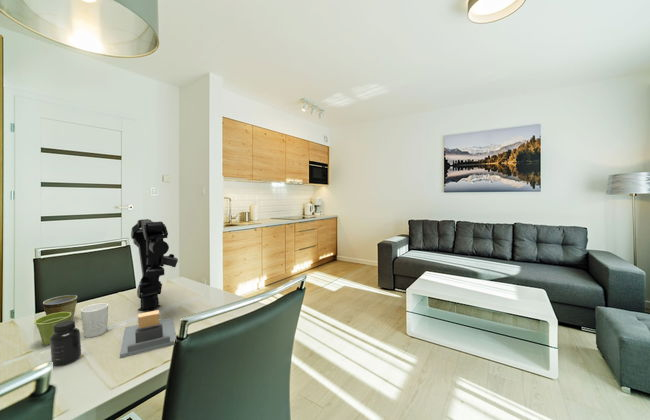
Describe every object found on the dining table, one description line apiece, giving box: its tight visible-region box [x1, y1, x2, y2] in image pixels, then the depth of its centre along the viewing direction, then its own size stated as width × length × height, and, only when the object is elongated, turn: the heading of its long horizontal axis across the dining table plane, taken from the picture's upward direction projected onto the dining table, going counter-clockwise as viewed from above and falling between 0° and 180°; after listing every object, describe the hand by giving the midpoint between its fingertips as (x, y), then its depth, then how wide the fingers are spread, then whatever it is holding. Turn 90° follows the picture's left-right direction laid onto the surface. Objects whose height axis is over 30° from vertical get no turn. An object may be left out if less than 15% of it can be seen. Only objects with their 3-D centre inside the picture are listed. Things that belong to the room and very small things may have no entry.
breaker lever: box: [137, 309, 161, 330], centre depth 95 cm, size 2×7×7 cm
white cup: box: [80, 302, 109, 338], centre depth 102 cm, size 8×8×10 cm
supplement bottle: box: [49, 319, 82, 367], centre depth 86 cm, size 7×7×12 cm
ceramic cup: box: [42, 294, 78, 320], centre depth 110 cm, size 13×10×10 cm
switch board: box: [119, 317, 177, 359], centre depth 100 cm, size 21×16×5 cm
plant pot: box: [33, 312, 71, 346], centre depth 97 cm, size 9×9×9 cm
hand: (155, 287), depth 115 cm, fingers closed
